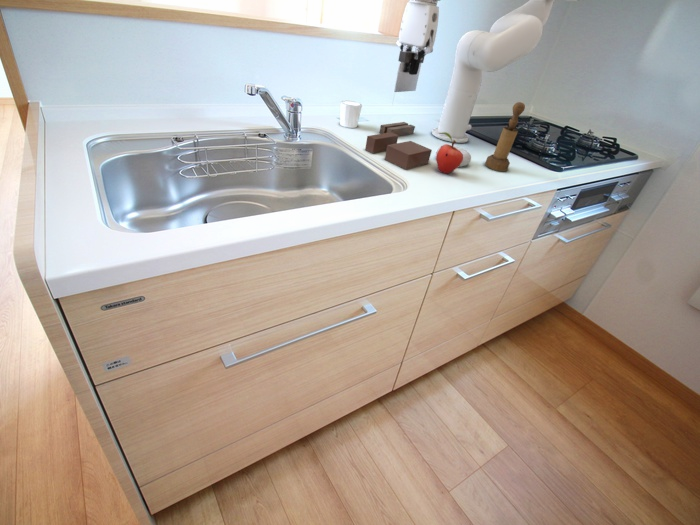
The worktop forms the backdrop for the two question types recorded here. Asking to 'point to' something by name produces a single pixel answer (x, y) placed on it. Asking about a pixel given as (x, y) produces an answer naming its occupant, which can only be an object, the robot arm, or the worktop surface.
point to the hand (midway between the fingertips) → (408, 72)
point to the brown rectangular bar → (380, 142)
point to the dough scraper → (406, 73)
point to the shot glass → (350, 113)
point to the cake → (407, 154)
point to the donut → (465, 156)
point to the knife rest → (397, 128)
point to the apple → (448, 157)
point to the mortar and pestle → (505, 142)
